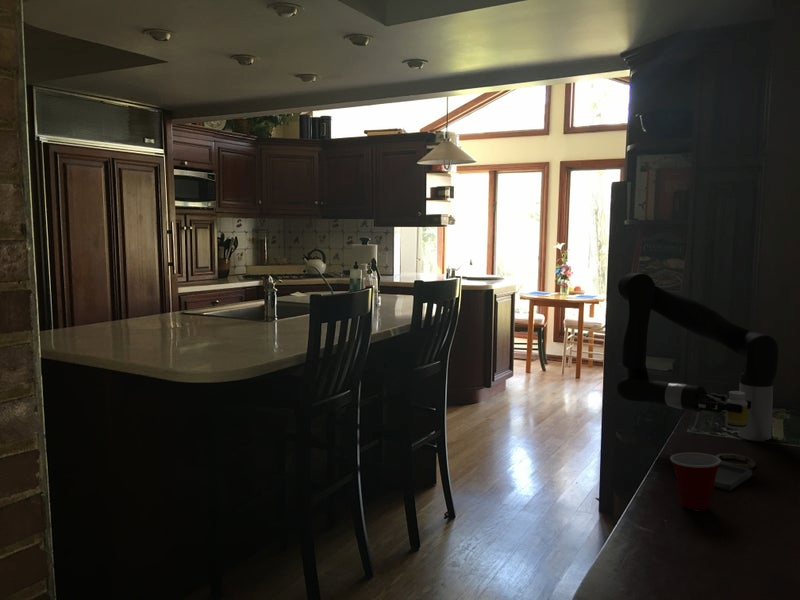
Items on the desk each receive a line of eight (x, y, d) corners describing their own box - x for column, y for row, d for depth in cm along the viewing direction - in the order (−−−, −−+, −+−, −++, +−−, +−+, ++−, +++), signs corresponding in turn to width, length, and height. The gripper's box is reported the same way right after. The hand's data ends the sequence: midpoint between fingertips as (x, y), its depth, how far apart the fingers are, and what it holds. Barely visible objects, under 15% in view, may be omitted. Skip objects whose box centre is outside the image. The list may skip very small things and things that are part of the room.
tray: (698, 462, 179) (698, 457, 179) (752, 475, 168) (752, 470, 168) (674, 476, 169) (674, 470, 169) (729, 491, 158) (729, 485, 158)
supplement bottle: (750, 429, 174) (752, 394, 173) (730, 429, 174) (731, 395, 173) (740, 423, 180) (741, 389, 179) (721, 424, 180) (722, 390, 179)
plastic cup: (679, 493, 157) (681, 446, 156) (726, 506, 150) (727, 456, 149) (661, 507, 150) (662, 457, 149) (709, 520, 142) (710, 468, 141)
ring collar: (723, 455, 185) (723, 451, 184) (759, 463, 177) (759, 459, 177) (709, 463, 178) (709, 459, 178) (745, 472, 171) (745, 467, 171)
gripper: (674, 388, 182) (736, 398, 169) (696, 380, 191) (757, 389, 179) (673, 414, 183) (735, 426, 170) (695, 404, 192) (756, 415, 179)
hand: (746, 407), depth 174 cm, fingers closed on supplement bottle, 5 cm apart
